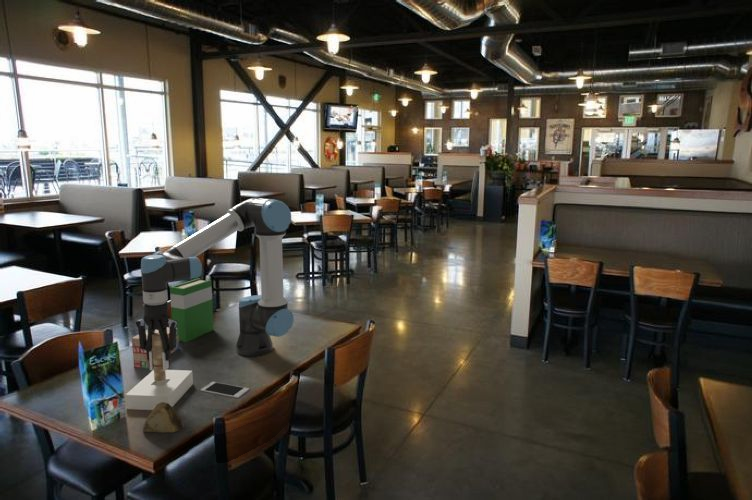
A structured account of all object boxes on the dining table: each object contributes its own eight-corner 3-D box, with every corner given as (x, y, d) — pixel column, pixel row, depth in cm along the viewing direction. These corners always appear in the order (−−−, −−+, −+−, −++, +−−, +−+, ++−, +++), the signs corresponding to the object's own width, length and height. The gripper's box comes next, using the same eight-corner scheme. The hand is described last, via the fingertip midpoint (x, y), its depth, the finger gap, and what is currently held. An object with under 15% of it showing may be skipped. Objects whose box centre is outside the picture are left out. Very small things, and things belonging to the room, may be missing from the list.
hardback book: (201, 327, 247) (198, 278, 243) (213, 330, 244) (211, 280, 240) (172, 339, 231) (169, 286, 227) (185, 342, 229) (183, 289, 224)
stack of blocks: (166, 347, 223) (164, 319, 220) (179, 348, 221) (178, 321, 219) (133, 367, 202) (131, 337, 200) (148, 369, 201) (146, 338, 198)
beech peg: (168, 376, 180) (165, 332, 177) (163, 381, 176) (160, 336, 173) (157, 376, 180) (154, 331, 177) (151, 380, 176) (149, 335, 173)
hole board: (193, 383, 189) (192, 370, 188) (168, 410, 169) (168, 396, 168) (154, 382, 190) (154, 369, 189) (126, 409, 170) (125, 394, 169)
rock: (131, 428, 154) (156, 432, 150) (142, 399, 158) (166, 402, 154) (158, 435, 163) (182, 439, 159) (168, 407, 167) (191, 410, 162)
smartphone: (238, 399, 179) (237, 396, 179) (200, 391, 184) (200, 389, 184) (249, 390, 186) (249, 388, 185) (212, 383, 190) (212, 381, 190)
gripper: (124, 304, 170) (129, 372, 174) (175, 306, 169) (179, 374, 174) (136, 298, 177) (140, 363, 182) (185, 299, 177) (188, 365, 181)
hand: (159, 368), depth 178 cm, fingers closed on beech peg, 4 cm apart
